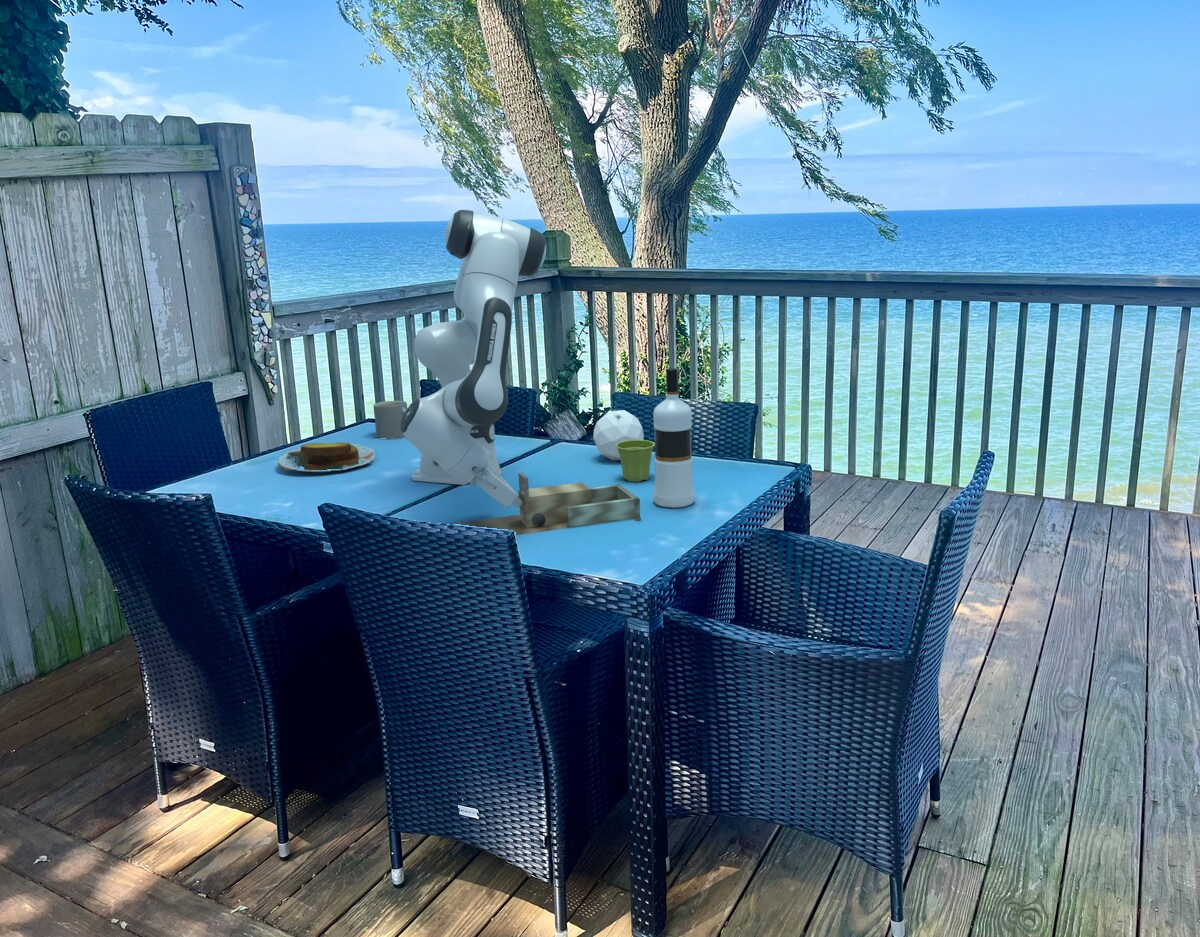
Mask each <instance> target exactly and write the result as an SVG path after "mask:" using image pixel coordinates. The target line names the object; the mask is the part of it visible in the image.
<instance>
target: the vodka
mask: <svg viewBox="0 0 1200 937" xmlns="http://www.w3.org/2000/svg"><path fill="white" fill-rule="evenodd" d="M665 379H666V380H665V384H666V386H665V387H666V389H665V390H666V396H665V397H666V398H665V399H664V400H662V401H661V402H660V403H659V404H658V405H656V406H655V407H654V410H653V412H652V414H653V415H652V416H653V428H654V443H655V446H654V459H653V461H654V467H655V477H654V490H653V492H652V493H653V494H652V495H653V496H652V499H653V502H654V504H656V505H657V506H660V507H661V508H668V509H677V508H678V509H679V508H685V507H688V506H690V505H691V504H693V503H694V502H695V500H696V492H695V489H694V481H693V461H694V459H693V457H692V426H693V423H692V419H693V412H692V408H691V407H690V405H689V404H687V403H686V402H685V401H682V400H681V399H680V398H679V369H678V368H675V367H670V368H667V369H666V370H665Z"/></svg>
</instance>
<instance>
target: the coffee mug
mask: <svg viewBox="0 0 1200 937" xmlns="http://www.w3.org/2000/svg"><path fill="white" fill-rule="evenodd" d="M407 403H408V402H407V401H404V400H386V401H380V402H376V403H373V404H372V405H373V414H374V424H375V425H374V426H375V434H376V438H377V437H378V438H377V439H379V438H386V439H385V440H391V439H390V438H399V439H402V438H401V437H404V438H406V437H405V436H404V435H403V433H402V431H401V421H402V418H403V415H404V413H405V411H406V410H407V408H408V404H407Z"/></svg>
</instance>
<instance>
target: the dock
mask: <svg viewBox="0 0 1200 937" xmlns="http://www.w3.org/2000/svg"><path fill="white" fill-rule="evenodd" d="M589 488H590V489H591V504H584V505H577V506H569V507H567V523H560V524H553V525H545V526H540V527H530V528H527V527H526V526H525V525H524V523H523V522H522V521H521V520H520V514H516V515H515V514H514V515H513V514H512V515H507V516H501V517H500V516H499V517H492V518H484V519H475V520H468V521H462V522H455V523H453V524H461V525H469V526H476V527H487V528H497V529H508V530H513V531H514V532H516V535H515V536H521V535H528V534H534V533H535V534H536V533H541V532H549V531H557V530H564V529H571V528H578V527H583V526H584V527H585V526H590V525H591V526H593V525H599V524H600V525H601V524H605V523H606V524H607V523H613V522H619V521H620V522H621V521H627V520H634V521H635V522H639V521H641V520H642V517H641V502H640V498H639V497H638V496H637V495H635V494H634V493H633V492H631V491H629V490H628V489H627V488H625V487H624V486H623V485H621V484H620V483H619V484H612V485H611V484H610V485H605V486H596V487H589Z"/></svg>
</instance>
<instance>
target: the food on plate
mask: <svg viewBox="0 0 1200 937" xmlns="http://www.w3.org/2000/svg"><path fill="white" fill-rule="evenodd" d="M375 453H376V452H375V450H374V449H372V448H369V447H367V446H363V445H360V444H355V443H354V444H353V443H349V442H321V443H320V442H318V443H315V442H313V443H306V444H302V445H301V447H299V448H296V449H291V450H289V451H287V452H285V453H284V454H283V455H280V456H279V457H278V460H277V465H278V466H281V469H282V470H284V471H288V470H290V471H293V470H295V471H298V472H299V471H300V472H305V473H306V472H310V473H317V472H318V473H320V472H321V473H323V472H326V473H331V471H333V472H339V471H343V470H344V471H346V470H348V469H352V468H353V469H354V468H355V467H359V466H363V465H367V464H368V463H371V462H373V461H374V460H375V457H376V454H375ZM358 461H361V462H362V463H359V462H358ZM300 466H302V467H304V470H300V469H299V468H298V467H300ZM327 469H342V470H331V471H328V470H327ZM316 470H317V471H316ZM318 470H319V471H318ZM321 470H326V471H321Z"/></svg>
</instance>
